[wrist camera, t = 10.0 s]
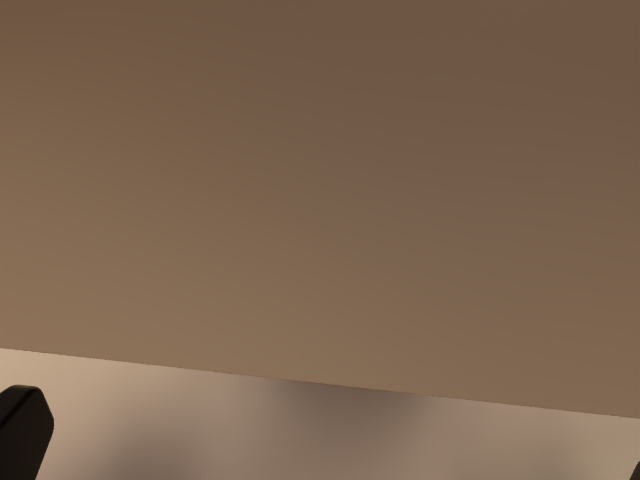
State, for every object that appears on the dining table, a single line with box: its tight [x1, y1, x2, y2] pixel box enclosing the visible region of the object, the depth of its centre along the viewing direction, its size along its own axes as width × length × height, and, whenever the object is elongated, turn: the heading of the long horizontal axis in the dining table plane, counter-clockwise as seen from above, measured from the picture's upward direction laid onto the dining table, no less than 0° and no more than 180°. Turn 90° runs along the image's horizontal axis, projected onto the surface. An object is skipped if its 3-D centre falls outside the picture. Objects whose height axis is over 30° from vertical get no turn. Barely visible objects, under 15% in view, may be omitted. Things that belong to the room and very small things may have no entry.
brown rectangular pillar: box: [0, 0, 640, 419], centre depth 11 cm, size 5×5×14 cm
